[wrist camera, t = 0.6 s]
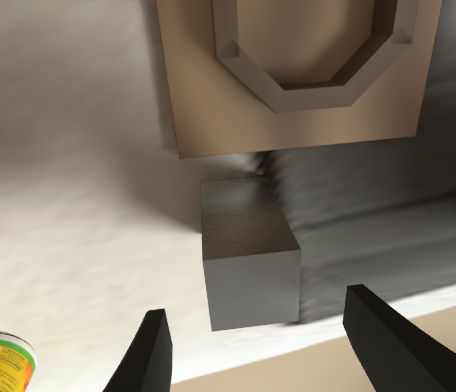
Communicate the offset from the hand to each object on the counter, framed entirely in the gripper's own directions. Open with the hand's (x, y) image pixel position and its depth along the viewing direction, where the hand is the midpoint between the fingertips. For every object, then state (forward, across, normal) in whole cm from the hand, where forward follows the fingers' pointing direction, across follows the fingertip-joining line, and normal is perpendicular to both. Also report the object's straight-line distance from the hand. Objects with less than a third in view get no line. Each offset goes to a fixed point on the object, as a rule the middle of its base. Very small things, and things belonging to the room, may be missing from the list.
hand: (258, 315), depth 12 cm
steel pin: (+9, 0, 0) cm, 9 cm away
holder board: (+9, -4, -11) cm, 15 cm away
